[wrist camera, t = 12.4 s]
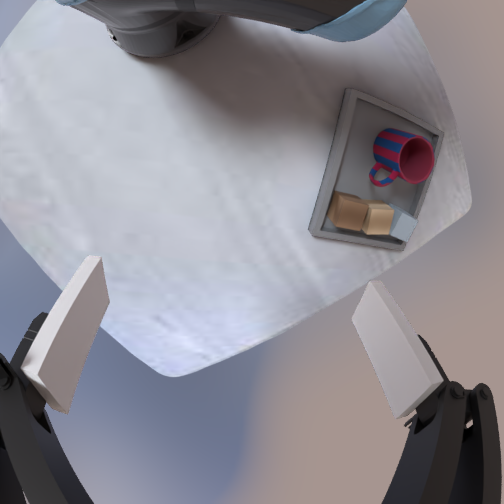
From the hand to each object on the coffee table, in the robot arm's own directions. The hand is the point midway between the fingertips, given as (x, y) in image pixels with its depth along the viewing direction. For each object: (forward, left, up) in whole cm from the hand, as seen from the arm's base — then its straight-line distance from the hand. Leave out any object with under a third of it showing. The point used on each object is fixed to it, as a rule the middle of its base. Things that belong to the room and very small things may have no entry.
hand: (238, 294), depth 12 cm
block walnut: (+2, +17, -26) cm, 31 cm away
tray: (-3, +22, -27) cm, 35 cm away
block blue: (+2, +27, -26) cm, 38 cm away
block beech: (+3, +22, -26) cm, 34 cm away
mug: (-7, +21, -26) cm, 34 cm away
